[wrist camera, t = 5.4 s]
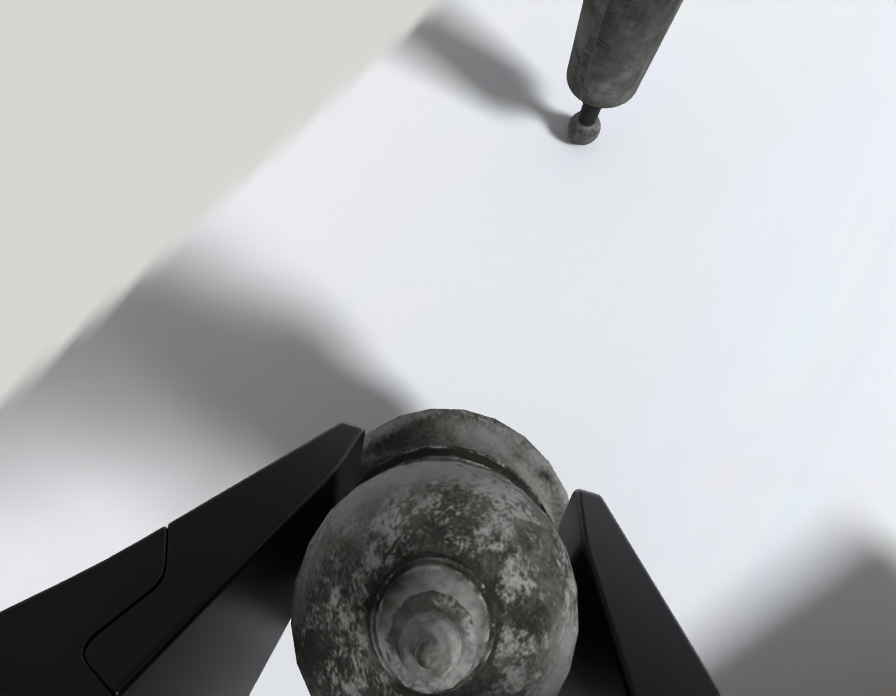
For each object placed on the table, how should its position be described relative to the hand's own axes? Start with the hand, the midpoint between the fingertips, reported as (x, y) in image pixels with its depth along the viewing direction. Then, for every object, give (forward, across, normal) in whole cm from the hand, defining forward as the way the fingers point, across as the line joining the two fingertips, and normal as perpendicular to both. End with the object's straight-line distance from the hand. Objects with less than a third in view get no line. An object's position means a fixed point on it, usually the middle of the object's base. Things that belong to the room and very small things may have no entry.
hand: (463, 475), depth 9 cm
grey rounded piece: (+4, 0, +6) cm, 7 cm away
